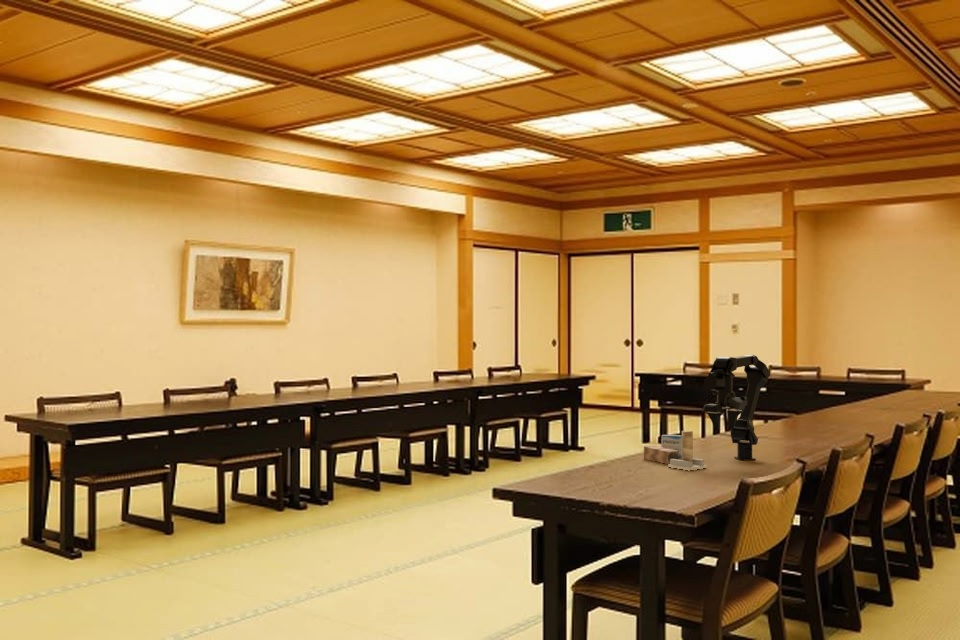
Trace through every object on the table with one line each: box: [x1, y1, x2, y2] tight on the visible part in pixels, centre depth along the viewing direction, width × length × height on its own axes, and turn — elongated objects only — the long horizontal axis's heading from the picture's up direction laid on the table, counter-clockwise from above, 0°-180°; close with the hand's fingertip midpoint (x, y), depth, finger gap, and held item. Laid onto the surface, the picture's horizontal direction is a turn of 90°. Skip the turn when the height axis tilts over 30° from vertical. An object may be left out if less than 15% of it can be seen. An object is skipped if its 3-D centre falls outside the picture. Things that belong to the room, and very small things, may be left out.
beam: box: [643, 445, 680, 465], centre depth 352 cm, size 16×5×5 cm, turn 24°
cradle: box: [667, 457, 707, 472], centre depth 336 cm, size 10×10×3 cm
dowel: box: [681, 430, 694, 465], centre depth 336 cm, size 4×4×12 cm
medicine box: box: [660, 434, 682, 458], centre depth 365 cm, size 8×4×9 cm, turn 73°
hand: (724, 429), depth 348 cm, fingers open, 9 cm apart
